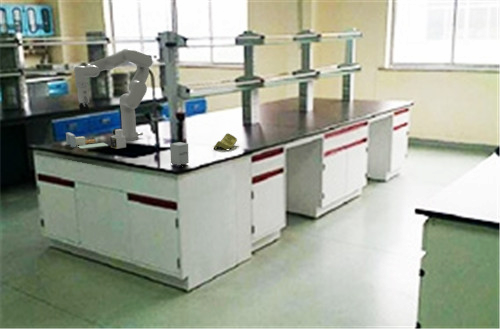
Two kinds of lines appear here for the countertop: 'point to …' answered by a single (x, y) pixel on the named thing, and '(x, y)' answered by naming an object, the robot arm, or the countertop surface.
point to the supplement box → (179, 153)
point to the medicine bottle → (118, 139)
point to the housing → (70, 139)
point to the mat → (92, 145)
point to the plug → (83, 141)
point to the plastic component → (226, 141)
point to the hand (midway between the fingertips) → (84, 111)
